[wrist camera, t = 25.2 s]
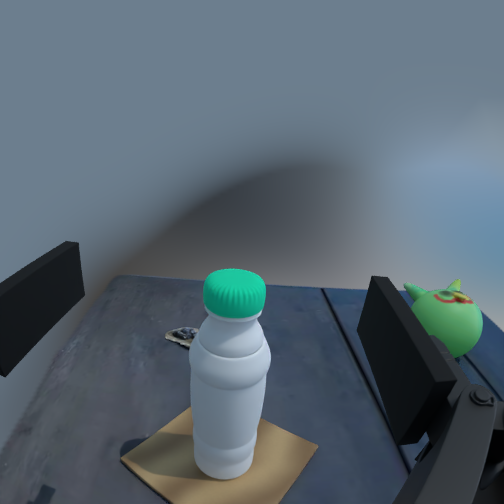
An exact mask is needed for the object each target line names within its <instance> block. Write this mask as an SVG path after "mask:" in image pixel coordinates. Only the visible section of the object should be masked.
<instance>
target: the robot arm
mask: <svg viewBox="0 0 504 504" xmlns="http://www.w3.org/2000/svg"><path fill="white" fill-rule="evenodd" d="M84 296H85V292H84V286H83V278H82V270H81V261H80V252H79V243H77V242H69V241H65V242H64V243H62V244H61V245H59V246H57V247H56V248H54V249H52V250H51V251H49V252H48V253H46V254H44V255H43V256H41V257H39V258H38V259H36V260H35V261H33V262H31V263H30V264H28V265H27V266H25V267H24V268H22V269H21V270H19V271H18V272H16V273H15V274H13V275H12V276H10V277H9V278H7V279H6V280H4V281H3V282H1V283H0V375H1V376H3V377H6V376H7V375H8V374H9V373H10V372H11V371H12V369H13V368H14V367H15V366H16V365H17V364H18V363H19V362H20V361H21V360H22V359H23V358H24V356H25V355H26V354H27V353H28V352H29V351H30V350H31V349H32V348H33V347H34V346H35V345H36V344H37V343H38V342H39V340H41V338H42V337H43V336H44V335H45V334H46V333H47V332H48V331H49V330H50V329H51V328H52V327H53V326H54V325H55V324H56V323H57V322H58V321H59V320H60V319H61V318H62V317H63V316H64V315H65V314H66V313H67V312H68V311H69V310H70V309H71V308H72V307H73V306H74V305H75V304H76V303H77V302H79V301H80V300H81V298H83V297H84ZM357 332H358V335H359V337H360V340H361V343H362V345H363V348H364V351H365V353H366V356H367V359H368V361H369V364H370V367H371V370H372V372H373V375H374V378H375V381H376V384H377V387H378V389H379V392H380V395H381V398H382V401H383V404H384V407H385V410H386V413H387V416H388V419H389V422H390V425H391V428H392V432H393V435H394V438H395V441H396V444H397V446H398V445H407V444H414V443H418V442H419V440H420V439H421V437H422V436H423V435H424V433H425V432H427V435H428V437H429V441H428V443H427V444H426V445H425V447H424V448H423V449H422V451H421V452H420V453H419V455H418V456H417V457H416V458H415V460H416V461H417V462H416V464H415V466H414V468H413V470H412V472H411V473H410V475H409V477H408V479H407V480H406V482H405V484H404V485H403V487H402V489H401V490H400V492H399V494H398V495H397V497H396V498H395V500H394V502H393V503H392V504H504V402H500V401H497V400H496V398H495V396H494V394H493V393H492V392H491V391H490V390H489V389H487V388H485V387H483V386H481V385H477V384H471V383H470V381H469V380H468V378H467V377H466V375H465V374H464V372H463V370H462V369H461V367H460V366H459V364H458V363H457V361H455V358H454V357H453V355H452V354H450V351H449V350H448V348H447V347H446V345H445V344H444V343H443V342H442V341H441V340H440V339H438V338H437V337H436V336H435V335H428V333H427V332H426V330H425V329H424V327H423V326H422V324H421V323H420V321H419V320H418V318H417V317H416V316H415V314H414V313H413V311H412V310H411V308H410V307H409V306H408V304H407V303H406V301H405V300H404V299H403V297H402V296H401V295H400V293H399V292H398V290H397V289H396V288H395V286H394V285H393V284H392V282H391V281H390V280H389V278H388V277H380V276H372V277H371V281H370V284H369V288H368V292H367V296H366V299H365V303H364V307H363V310H362V314H361V317H360V321H359V324H358V327H357Z"/></svg>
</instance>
